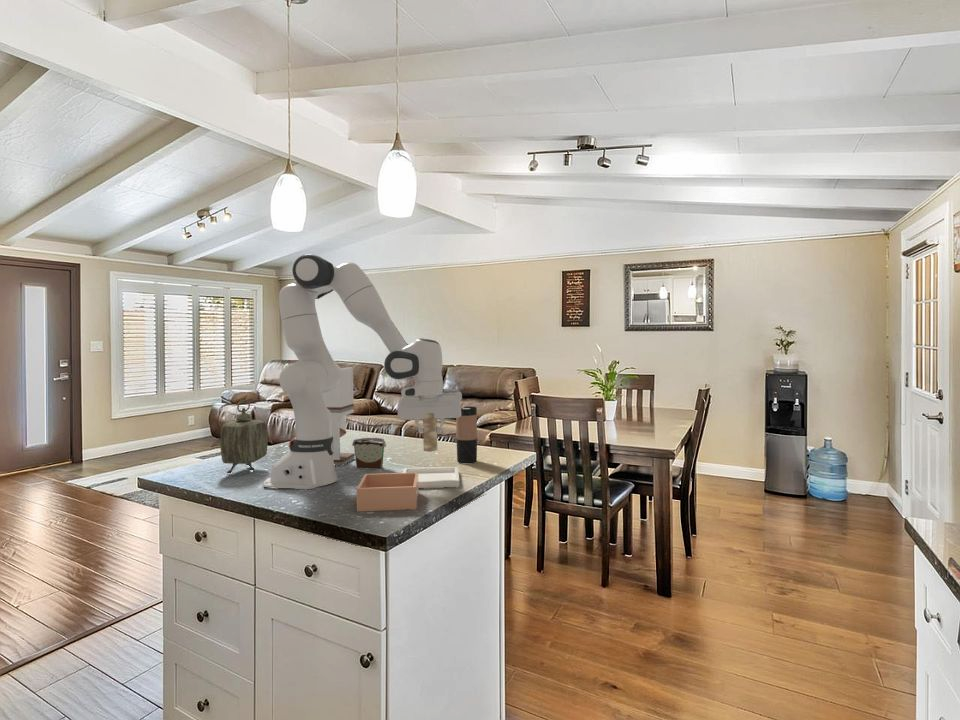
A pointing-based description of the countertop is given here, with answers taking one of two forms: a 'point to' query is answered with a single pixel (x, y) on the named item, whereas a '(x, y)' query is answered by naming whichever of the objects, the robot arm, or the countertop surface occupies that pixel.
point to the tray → (436, 476)
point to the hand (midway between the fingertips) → (430, 432)
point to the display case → (340, 412)
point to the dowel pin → (430, 433)
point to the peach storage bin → (388, 492)
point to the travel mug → (467, 435)
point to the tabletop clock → (243, 440)
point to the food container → (369, 452)
